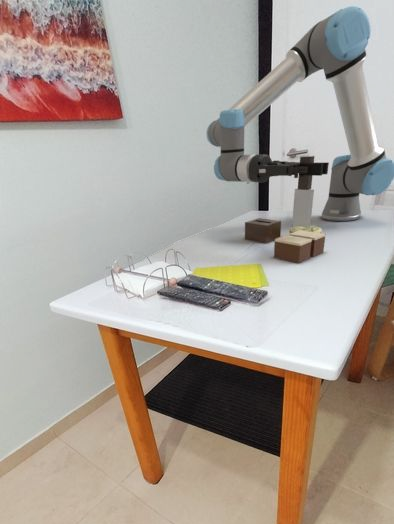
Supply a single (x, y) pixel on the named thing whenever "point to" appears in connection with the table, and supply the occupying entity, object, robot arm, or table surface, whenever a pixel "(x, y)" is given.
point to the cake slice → (292, 248)
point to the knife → (303, 197)
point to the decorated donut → (306, 229)
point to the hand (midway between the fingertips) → (324, 169)
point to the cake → (316, 242)
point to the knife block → (262, 230)
